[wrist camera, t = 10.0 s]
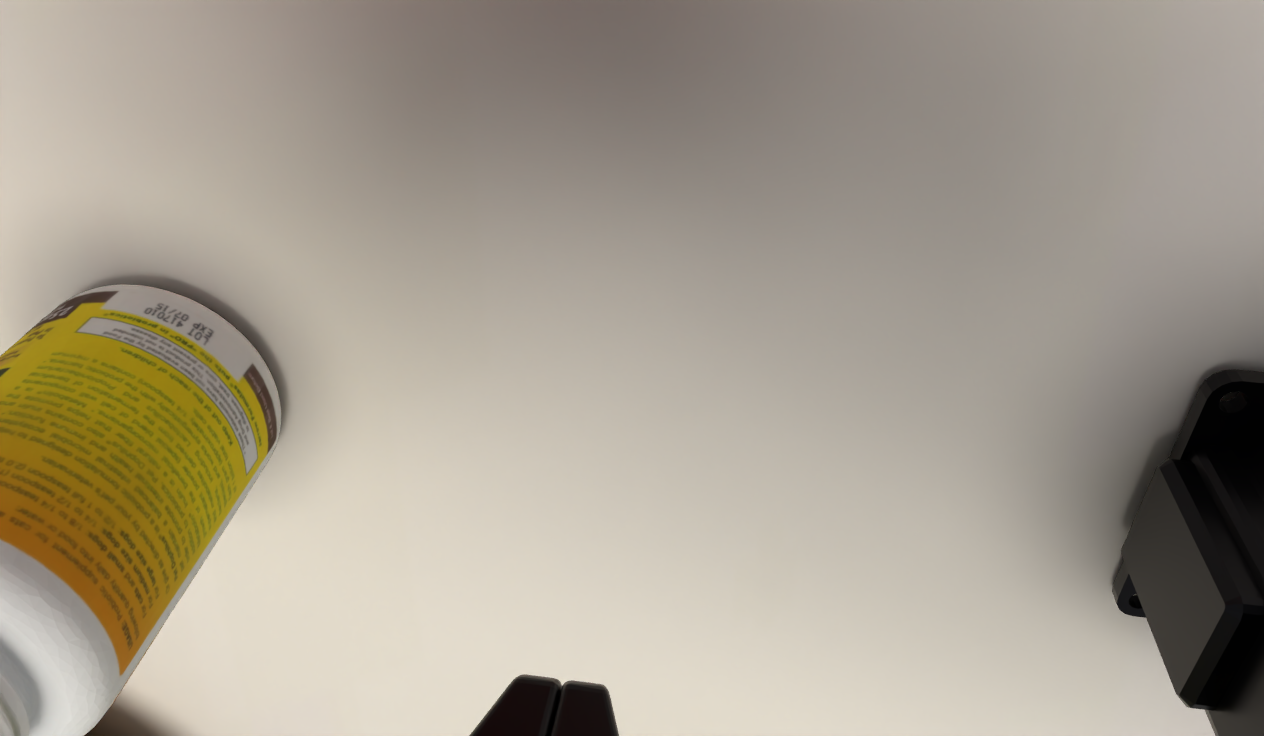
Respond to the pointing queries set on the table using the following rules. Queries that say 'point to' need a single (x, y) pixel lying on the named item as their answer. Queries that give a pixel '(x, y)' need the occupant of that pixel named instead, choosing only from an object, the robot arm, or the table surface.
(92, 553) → the supplement bottle
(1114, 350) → the table surface
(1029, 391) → the table surface
